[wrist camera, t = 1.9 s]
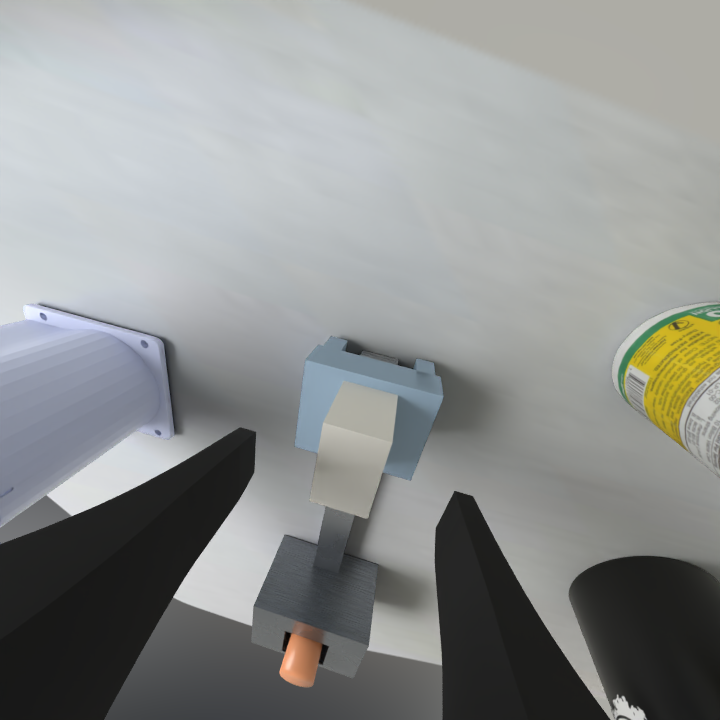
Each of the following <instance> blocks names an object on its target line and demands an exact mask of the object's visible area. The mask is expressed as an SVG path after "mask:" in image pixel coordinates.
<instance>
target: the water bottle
mask: <svg viewBox="0 0 720 720" xmlns="http://www.w3.org/2000/svg"><path fill="white" fill-rule="evenodd" d="M569 599H570V602H571V604H572V607H573V610H574V612H575V615H576V618H577V620H578V623H579V625H580V628H581V631H582V633H583V636H584V638H585V641H586V644H587V646H588V649H589V651H590V654H591V657H592V659H593V662H594V664H595V667H596V670H597V672H598V675H599V677H600V680H601V683H602V685H603V688H604V691H605V693H606V696H607V698H608V701H609V703H610V706H611V711H612V714H613V716H614V719H615V720H720V584H719V583H718V582H717V580H716V579H715V578H714V577H713V576H711V575H710V574H709V573H707V572H706V571H704V570H702V569H701V568H699V567H696V566H694V565H691V564H689V563H686V562H682V561H679V560H674V559H669V558H662V557H628V558H620V559H615V560H611V561H607V562H604V563H601V564H598V565H595V566H593V567H591V568H589V569H587V570H586V571H584V572H583V573H581V574H580V575H579V576H578V577H577V578H576V579H575V580H574V581H573V583H572V585H571V587H570V590H569Z"/></svg>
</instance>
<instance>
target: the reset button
mask: <svg viewBox="0 0 720 720" xmlns="http://www.w3.org/2000/svg"><path fill="white" fill-rule="evenodd" d="M322 645H323V644H321V643H319V642H316V641H313V640H310V639H307V638H304V637H301V636H299V635H296V634H293V633H292V634H291V637H290V640H289V643H288V646H287V650H286V653H285V656H284V659H283V663H282V666H281V669H280V675H281V676H282V678H284V679H285V680H286V681H288V682H290V683H292V684H294V685H297V686H301V687H311V686H312V685H313V684H314V680H315V675H316V671H317V667H318V663H319V658H320V654H321V650H322Z"/></svg>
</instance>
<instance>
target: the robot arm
mask: <svg viewBox="0 0 720 720" xmlns="http://www.w3.org/2000/svg"><path fill="white" fill-rule="evenodd" d="M23 311H24V314H25V317H26V320H23V321H19V322H14V323H10V324H6V325H1V326H0V527H2V526H3V525H4V524H6V523H7V522H9V521H10V520H11V519H13V518H14V517H16V516H17V515H18V514H20V513H21V512H23V511H24V510H26V509H27V508H28V507H30V506H31V505H32V504H34V503H35V502H37V501H38V500H39V499H41V498H42V497H44V496H45V495H47V494H48V493H49V492H51V491H52V490H54V489H55V488H56V487H58V486H59V485H61V484H62V483H63V482H65V481H66V480H68V479H69V478H70V477H72V476H73V475H75V474H76V473H77V472H79V471H80V470H82V469H83V468H84V467H86V466H87V465H89V464H90V463H92V462H93V461H94V460H96V459H97V458H99V457H100V456H101V455H103V454H104V453H106V452H107V451H108V450H110V449H111V448H113V447H114V446H115V445H117V444H118V443H120V442H121V441H122V440H124V439H125V438H127V437H128V436H129V435H131V434H132V433H134V432H135V431H139V432H143V433H146V434H149V435H152V436H156V437H159V438H162V439H166V440H169V439H171V438H172V437H173V436H174V434H175V433H174V425H173V416H172V408H171V400H170V392H169V383H168V375H167V367H166V358H165V350H164V344H163V342H162V341H161V340H160V339H159V338H157V337H154V336H150V335H147V334H143V333H139V332H136V331H132V330H128V329H125V328H121V327H117V326H114V325H110V324H106V323H103V322H99V321H95V320H92V319H88V318H84V317H80V316H77V315H73V314H69V313H66V312H62V311H58V310H55V309H51V308H47V307H44V306H40V305H36V304H27V305H24V307H23ZM147 343H148V344H147ZM255 443H256V432H254V431H251V430H247V429H244V428H241V427H240V428H238V429H237V430H235V431H233V432H232V433H230V434H228V435H227V436H225V437H223V438H222V439H220V440H219V441H217V442H215V443H214V444H212V445H210V446H209V447H207V448H205V449H204V450H202V451H201V452H199V453H197V454H195V455H194V456H192V457H190V458H189V459H187V460H185V461H183V462H182V463H180V464H178V465H177V466H175V467H173V468H171V469H169V470H168V471H166V472H164V473H162V474H160V475H158V476H156V477H155V478H153V479H151V480H149V481H147V482H145V483H143V484H141V485H139V486H137V487H135V488H133V489H131V490H129V491H127V492H125V493H123V494H121V495H119V496H117V497H115V498H113V499H111V500H108V501H106V502H104V503H102V504H100V505H98V506H95V507H93V508H91V509H88V510H86V511H84V512H81V513H79V514H76V515H74V516H72V517H69V518H67V519H64V520H62V521H59V522H57V523H55V524H52V525H50V526H48V527H45V528H43V529H40V530H37V531H35V532H32V533H29V534H27V535H24V536H22V537H19V538H16V539H14V540H11V541H8V542H5V543H3V544H1V542H0V720H104V719H105V717H106V715H107V713H108V711H109V709H110V707H111V705H112V703H113V702H114V700H115V698H116V696H117V694H118V693H119V691H120V689H121V687H122V685H123V683H124V682H125V680H126V678H127V676H128V675H129V673H130V671H131V669H132V667H133V666H134V664H135V662H136V660H137V658H138V656H139V655H140V653H141V651H142V649H143V648H144V646H145V644H146V642H147V641H148V639H149V637H150V636H151V634H152V632H153V630H154V629H155V627H156V625H157V623H158V622H159V620H160V618H161V616H162V615H163V613H164V611H165V610H166V608H167V606H168V604H169V603H170V601H171V600H172V598H173V596H174V595H175V593H176V591H177V590H178V588H179V586H180V585H181V583H182V581H183V580H184V578H185V577H186V575H187V573H188V572H189V570H190V569H191V567H192V566H193V564H194V563H195V561H196V560H197V559H198V557H199V556H200V554H201V553H202V552H203V550H204V549H205V547H206V546H207V545H208V543H209V542H210V540H211V539H212V538H213V536H214V535H215V533H216V532H217V530H218V529H219V528H220V526H221V525H222V523H223V522H224V521H225V519H226V518H227V516H228V515H229V513H230V512H231V511H232V509H233V508H234V506H235V505H236V503H237V502H238V500H239V499H240V497H241V495H242V494H243V492H244V490H245V488H246V487H247V485H248V483H249V481H250V479H251V477H252V476H253V474H254V466H255ZM435 572H436V585H437V598H438V610H439V623H440V635H441V648H442V669H443V720H610V718H609V717H608V716H607V714H606V713H605V712H604V710H603V709H602V708H601V706H600V705H599V704H598V702H597V701H596V700H595V698H594V697H593V695H592V694H591V693H590V691H589V690H588V688H587V687H586V686H585V684H584V683H583V681H582V680H581V679H580V677H579V676H578V674H577V673H576V671H575V670H574V669H573V667H572V666H571V664H570V663H569V661H568V660H567V658H566V657H565V655H564V654H563V652H562V651H561V649H560V648H559V646H558V645H557V643H556V642H555V640H554V639H553V637H552V636H551V634H550V633H549V631H548V630H547V628H546V626H545V625H544V623H543V622H542V620H541V618H540V617H539V615H538V614H537V612H536V610H535V609H534V607H533V605H532V604H531V602H530V600H529V599H528V597H527V595H526V594H525V592H524V590H523V589H522V587H521V585H520V583H519V582H518V580H517V578H516V577H515V575H514V573H513V571H512V569H511V568H510V566H509V564H508V562H507V560H506V559H505V557H504V555H503V553H502V551H501V549H500V548H499V546H498V544H497V542H496V540H495V538H494V536H493V534H492V532H491V530H490V529H489V527H488V525H487V523H486V521H485V519H484V517H483V515H482V513H481V511H480V509H479V507H478V505H477V503H476V501H475V499H474V498H473V496H470V495H467V494H463V493H460V492H457V491H454V493H453V495H452V497H451V499H450V501H449V503H448V505H447V507H446V509H445V511H444V513H443V515H442V517H441V519H440V521H439V523H438V525H437V527H436V537H435Z"/></svg>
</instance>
